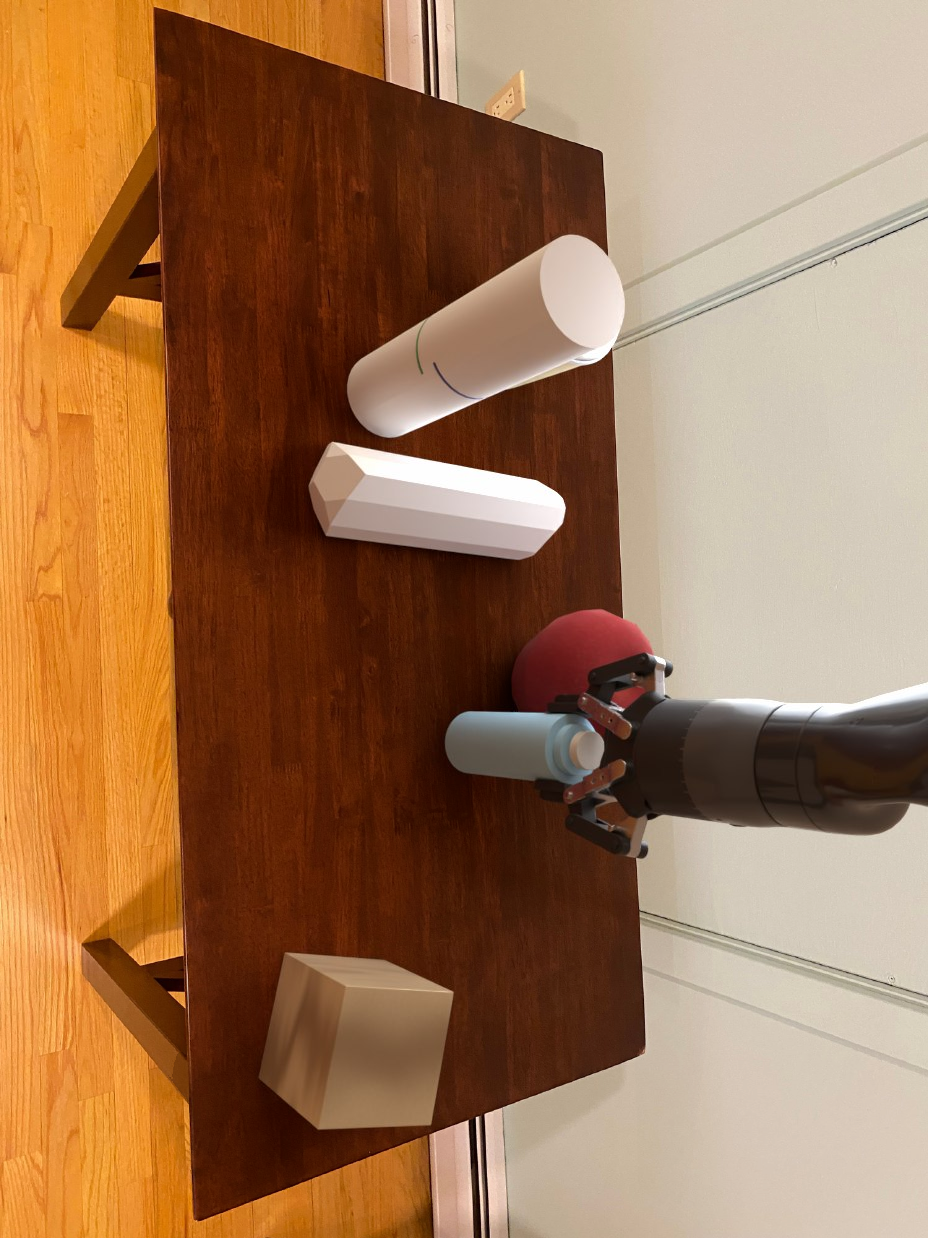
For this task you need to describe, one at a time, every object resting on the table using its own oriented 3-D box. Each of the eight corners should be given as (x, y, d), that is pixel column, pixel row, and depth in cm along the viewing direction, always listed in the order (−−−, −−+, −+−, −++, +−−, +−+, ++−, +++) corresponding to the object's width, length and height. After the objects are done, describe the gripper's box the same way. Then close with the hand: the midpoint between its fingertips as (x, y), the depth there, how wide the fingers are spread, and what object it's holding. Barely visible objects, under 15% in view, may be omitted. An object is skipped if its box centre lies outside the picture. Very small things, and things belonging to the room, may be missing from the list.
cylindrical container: (379, 453, 78) (579, 367, 58) (331, 379, 76) (520, 263, 56) (434, 411, 82) (640, 316, 61) (389, 339, 80) (588, 216, 59)
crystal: (561, 457, 85) (321, 406, 71) (587, 518, 81) (341, 477, 68) (517, 508, 90) (285, 470, 76) (540, 568, 86) (301, 539, 72)
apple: (499, 600, 85) (600, 586, 74) (591, 638, 91) (697, 630, 80) (471, 729, 82) (571, 734, 71) (568, 759, 88) (674, 768, 77)
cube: (362, 1078, 74) (431, 1126, 65) (257, 1078, 69) (317, 1130, 60) (384, 960, 75) (454, 992, 67) (284, 952, 71) (345, 985, 62)
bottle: (489, 778, 80) (611, 792, 67) (439, 767, 77) (558, 780, 65) (499, 718, 81) (622, 722, 68) (450, 705, 78) (569, 707, 66)
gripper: (702, 630, 56) (526, 643, 70) (671, 874, 53) (493, 837, 67) (779, 660, 60) (598, 667, 74) (754, 887, 57) (570, 850, 71)
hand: (549, 748), depth 70 cm, fingers closed on bottle, 5 cm apart
